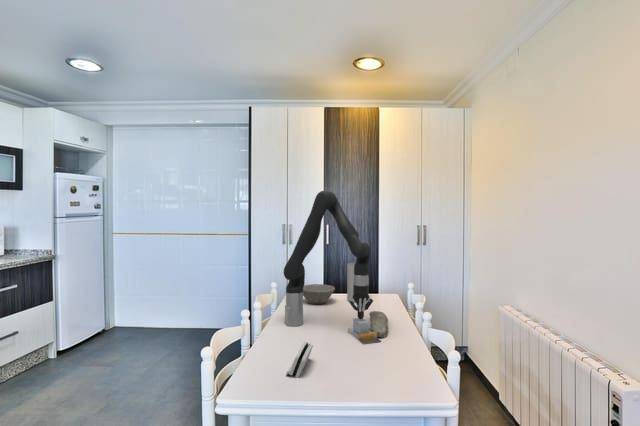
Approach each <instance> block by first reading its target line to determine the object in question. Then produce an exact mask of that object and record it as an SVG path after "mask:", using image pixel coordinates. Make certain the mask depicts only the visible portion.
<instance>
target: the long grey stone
mask: <svg viewBox="0 0 640 426" xmlns="http://www.w3.org/2000/svg"><path fill="white" fill-rule="evenodd" d="M369 319H370V331H371V332H376V333H377V338H385V336H386V335H387V334H388V330H389V327H388V325H389V321H388V320H389V319H388V317H387V315H386V314H385V313H384V312H382V311H376V310H373V311H369Z"/></svg>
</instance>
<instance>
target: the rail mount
mask: <svg viewBox="0 0 640 426" xmlns="http://www.w3.org/2000/svg"><path fill="white" fill-rule="evenodd" d="M347 333H348V334H350V335H351V336H352V337H354V338H355V339H356V340H357V341H358V342H359V343H361V344H362V345H370V344H377V343H381V342H382V340H380V339H379V337H377V333H376V332H372V331H371V329H370V330H369V329H368V333H361V334H356V333H355V332H354V331H353V329H352V328H350V327H347Z"/></svg>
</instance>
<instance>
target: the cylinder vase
mask: <svg viewBox="0 0 640 426" xmlns="http://www.w3.org/2000/svg"><path fill="white" fill-rule="evenodd" d="M355 263H356V262H355V261H353V262H347V265H346V268H347V270H346V271H347V272H346V273H347V280H346V283H347V285H346V287H347V288H346V290H347V291H346V292H347V293H346V295H347V297H346V299H347V301H349V300H351V299H352V298H353V278H354V264H355ZM354 304H356V302H355V301H354Z"/></svg>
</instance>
